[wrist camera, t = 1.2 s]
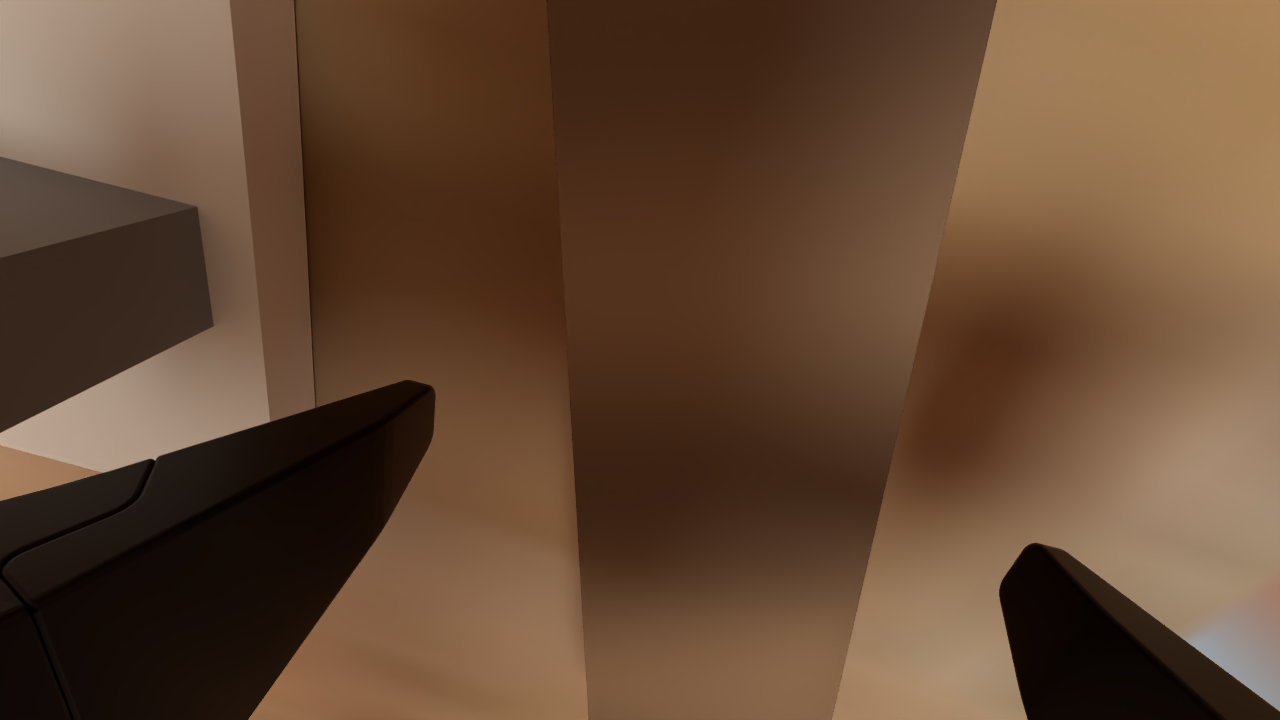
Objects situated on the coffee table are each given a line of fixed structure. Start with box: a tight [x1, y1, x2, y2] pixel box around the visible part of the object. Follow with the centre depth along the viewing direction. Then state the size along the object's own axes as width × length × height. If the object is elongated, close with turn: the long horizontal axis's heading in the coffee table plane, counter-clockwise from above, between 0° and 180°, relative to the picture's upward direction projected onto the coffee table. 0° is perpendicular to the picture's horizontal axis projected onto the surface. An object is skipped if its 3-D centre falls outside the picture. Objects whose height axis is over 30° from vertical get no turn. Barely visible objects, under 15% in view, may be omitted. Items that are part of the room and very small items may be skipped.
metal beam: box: [547, 0, 997, 720], centre depth 10 cm, size 20×4×5 cm, turn 0°
